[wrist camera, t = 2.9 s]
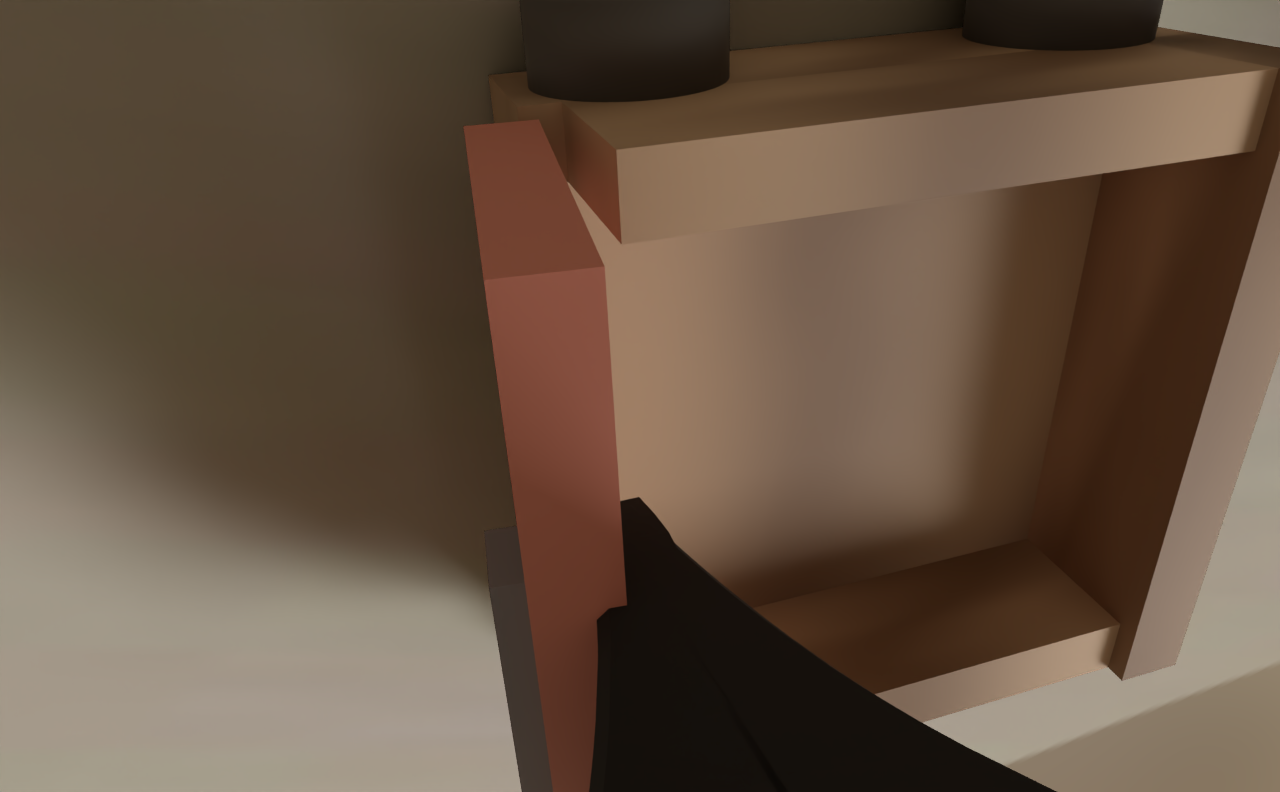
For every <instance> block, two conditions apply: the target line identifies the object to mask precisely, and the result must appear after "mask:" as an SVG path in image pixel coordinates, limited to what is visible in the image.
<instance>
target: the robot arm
mask: <svg viewBox="0 0 1280 792" xmlns="http://www.w3.org/2000/svg"><path fill="white" fill-rule="evenodd" d="M620 506H621V522H622V537H623V552H624V567H625V582H626V597H627V605H625V606H619V607H614V608H609V609H608V610H607V611H606V612H605V613H604V614H603V615H601V616H600V617H599V618H598V619H597V639H598V670H597V697H596V722H595V736H594V748H593V760H592V770H591V779H590V788H589V792H1056V791H1054V790H1052V789H1050V788H1048V787H1046V786H1044V785H1042V784H1040V783H1038V782H1036V781H1034V780H1032V779H1030V778H1028V777H1026V776H1024V775H1022V774H1020V773H1018V772H1016V771H1013V770H1012V769H1010V768H1008V767H1006V766H1004V765H1002V764H1000V763H998V762H995V761H993V760H991V759H989V758H987V757H985V756H983V755H981V754H979V753H977V752H975V751H973V750H971V749H969V748H967V747H965V746H964V745H962V744H960V743H958V742H956V741H954V740H952V739H951V738H949V737H947V736H945V735H943V734H941V733H940V732H938V731H936V730H934V729H932V728H930V727H929V726H927V725H925V724H923V723H922V722H920V721H918V720H917V719H915V718H913V717H912V716H910V715H908V714H907V713H905V712H903V711H902V710H900V709H898V708H896V707H895V706H893V705H891V704H890V703H888V702H886V701H885V700H883V699H881V698H880V697H878V696H877V695H875V694H873V693H872V692H870V691H869V690H867V689H866V688H864V687H862V686H861V685H859V684H858V683H856V682H855V681H853V680H852V679H850V678H849V677H847V676H846V675H844V674H843V673H841V672H840V671H838V670H837V669H835V668H834V667H832V666H831V665H829V664H828V663H826V662H825V661H824V660H822V659H821V658H819V657H818V656H816V655H815V654H814V653H812V652H811V651H809V650H808V649H807V648H805V647H804V646H802V645H801V644H799V643H798V642H797V641H795V640H794V639H792V638H791V637H790V636H788V635H787V634H786V633H784V632H783V631H782V630H780V629H779V628H778V627H776V626H775V625H774V624H772V623H771V622H770V621H768V620H767V619H766V618H764V617H763V616H762V615H761V614H759V613H758V612H757V611H756V610H754V609H753V608H752V607H751V606H749V605H748V604H747V603H746V602H744V601H743V600H742V599H741V598H739V597H738V596H737V595H735V594H734V593H733V592H732V591H730V590H729V589H728V588H727V587H725V586H724V585H723V584H722V583H721V582H719V581H718V580H717V579H716V578H715V577H713V576H712V575H711V574H710V573H709V572H707V571H706V570H705V569H704V568H703V567H702V566H700V565H699V564H698V563H697V562H696V561H695V560H694V559H692V558H691V557H690V556H689V555H688V554H687V553H685V552H684V551H683V550H682V549H681V548H680V547H679V546H678V545H676V544H675V543H674V541H673V539H672V537H671V535H670V533H669V532H668V530H667V529H666V528H665V526H664V525H663V524H662V523H661V521H660V520H659V519H658V517H657V516H656V515H655V514H654V512H653V511H652V510H651V509H650V508H649V507H648V506H647V505H646V504H645V503H644V502H643V500H642V499H641V498H640V497H636V498H632V499H627V500H622V501H620Z"/></svg>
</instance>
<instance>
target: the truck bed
mask: <svg viewBox="0 0 1280 792" xmlns="http://www.w3.org/2000/svg"><path fill="white" fill-rule="evenodd" d="M1162 5H1163V0H966V5H965V14H964V22H963V28H954V29H944V30H934V31H924V32H914V33H904V34H894V35H884V36H874V37H864V38H854V39H844V40H834V41H824V42H814V43H804V44H794V45H784V46H774V47H764V48H754V49H744V50H734V51H730V0H520V10H521V20H522V30H523V40H524V50H525V60H526V70H527V71H524V72H514V73H504V74H494V75H488V77H489V85H490V93H491V102H492V110H493V119H494V123H504V122H515V121H527V120H538V119H539V121H540V123H541V126H542V128H543V130H544V132H545V135H546V137H547V139H548V141H549V144H550V146H551V148H552V150H553V152H554V155H555V157H556V159H557V161H558V164H559V166H560V168H561V170H562V172H563V175H564V177H565V179H566V181H567V184H568V186H569V188H570V190H571V193H572V195H573V197H574V199H575V201H576V204H577V206H578V208H579V210H580V213H581V215H582V217H583V219H584V222H585V224H586V226H587V228H588V230H589V233H590V235H591V237H592V239H593V242H594V244H595V246H596V248H597V251H598V253H599V255H600V257H601V259H602V262H603V264H604V266H605V279H606V294H607V310H608V325H609V340H610V355H611V370H612V385H613V400H614V416H615V431H616V446H617V461H618V476H619V491H620V501H622V500H627V499H632V498H636V497H640V498H641V499H642V500H643V502H644V503H645V504H646V505H647V506H648V507H649V508H650V509H651V510H652V511H653V512H654V514H655V515H656V516H657V517H658V519H659V520H660V521H661V523H662V524H663V525H664V526H665V528H666V529H667V530H668V532H669V533H670V535H671V537H672V539H673V541H674V543H675V544H676V545H678V546H679V547H680V548H681V549H682V550H683V551H684V552H685V553H687V554H688V555H689V556H690V557H691V558H692V559H694V560H695V561H696V562H697V563H698V564H699V565H700V566H702V567H703V568H704V569H705V570H706V571H707V572H709V573H710V574H711V575H712V576H713V577H715V578H716V579H717V580H718V581H719V582H721V583H722V584H723V585H724V586H725V587H727V588H728V589H729V590H730V591H732V592H733V593H734V594H735V595H737V596H738V597H739V598H741V599H742V600H743V601H744V602H746V603H747V604H748V605H749V606H751V607H752V608H753V609H754V610H756V611H757V612H758V613H759V614H761V615H762V616H763V617H764V618H766V619H767V620H768V621H770V622H771V623H772V624H774V625H775V626H776V627H778V628H779V629H780V630H782V631H783V632H784V633H786V634H787V635H788V636H790V637H791V638H792V639H794V640H795V641H797V642H798V643H799V644H801V645H802V646H804V647H805V648H807V649H808V650H809V651H811V652H812V653H814V654H815V655H816V656H818V657H819V658H821V659H822V660H824V661H825V662H826V663H828V664H829V665H831V666H832V667H834V668H835V669H837V670H838V671H840V672H841V673H843V674H844V675H846V676H847V677H849V678H850V679H852V680H853V681H855V682H856V683H858V684H859V685H861V686H862V687H864V688H866V689H867V690H869V691H870V692H872V693H873V694H875V695H877V696H878V697H880V698H881V699H883V700H885V701H886V702H888V703H890V704H891V705H893V706H895V707H896V708H898V709H900V710H902V711H903V712H905V713H907V714H908V715H910V716H912V717H913V718H915V719H917V720H918V721H920V722H925V721H928V720H932V719H935V718H938V717H942V716H945V715H948V714H952V713H955V712H959V711H962V710H965V709H969V708H972V707H975V706H979V705H982V704H985V703H989V702H992V701H996V700H999V699H1002V698H1006V697H1009V696H1012V695H1016V694H1019V693H1022V692H1026V691H1029V690H1032V689H1036V688H1039V687H1043V686H1046V685H1049V684H1053V683H1056V682H1059V681H1063V680H1066V679H1069V678H1073V677H1076V676H1079V675H1083V674H1086V673H1090V672H1093V671H1096V670H1100V669H1103V668H1106V667H1109V668H1110V669H1111V670H1112V671H1113V672H1114V673H1115V674H1116V675H1117V676H1118V677H1119V678H1120V679H1121V680H1122V681H1123V680H1126V679H1129V678H1133V677H1136V676H1139V675H1143V674H1146V673H1149V672H1153V671H1156V670H1159V669H1162V668H1166V667H1169V666H1172V665H1175V664H1176V661H1177V658H1178V655H1179V652H1180V649H1181V646H1182V643H1183V640H1184V637H1185V634H1186V631H1187V628H1188V625H1189V622H1190V619H1191V616H1192V613H1193V610H1194V607H1195V604H1196V601H1197V598H1198V595H1199V592H1200V589H1201V586H1202V583H1203V580H1204V577H1205V574H1206V571H1207V568H1208V565H1209V562H1210V559H1211V556H1212V553H1213V550H1214V547H1215V544H1216V541H1217V538H1218V535H1219V532H1220V529H1221V526H1222V523H1223V520H1224V517H1225V514H1226V511H1227V508H1228V505H1229V502H1230V499H1231V496H1232V493H1233V490H1234V487H1235V484H1236V481H1237V478H1238V475H1239V472H1240V469H1241V466H1242V463H1243V460H1244V457H1245V454H1246V451H1247V448H1248V445H1249V442H1250V439H1251V436H1252V433H1253V430H1254V427H1255V424H1256V421H1257V418H1258V415H1259V412H1260V409H1261V406H1262V403H1263V400H1264V397H1265V394H1266V391H1267V388H1268V385H1269V382H1270V379H1271V376H1272V373H1273V370H1274V367H1275V364H1276V361H1277V358H1278V355H1279V352H1280V48H1279V47H1273V46H1267V45H1261V44H1255V43H1249V42H1243V41H1238V40H1232V39H1226V38H1220V37H1214V36H1208V35H1202V34H1196V33H1190V32H1184V31H1178V30H1172V29H1166V28H1161V27H1158V23H1159V18H1160V14H1161V9H1162Z"/></svg>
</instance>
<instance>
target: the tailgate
mask: <svg viewBox="0 0 1280 792" xmlns="http://www.w3.org/2000/svg"><path fill="white" fill-rule="evenodd" d="M463 127H464V134H465V142H466V150H467V157H468V165H469V172H470V180H471V188H472V195H473V203H474V210H475V218H476V226H477V233H478V241H479V248H480V256H481V264H482V271H483V279H484V286H485V294H486V301H487V308H488V316H489V323H490V330H491V338H492V345H493V353H494V360H495V367H496V375H497V382H498V389H499V397H500V404H501V411H502V419H503V426H504V434H505V441H506V448H507V456H508V463H509V470H510V478H511V485H512V492H513V500H514V507H515V515H516V522H517V526H512V527H506V528H499V529H493V530H486V531H484V532H485V545H486V557H487V569H488V581H489V591H490V597H491V603H492V609H493V616H494V622H495V628H496V634H497V640H498V647H499V653H500V659H501V665H502V672H503V678H504V684H505V690H506V696H507V703H508V709H509V715H510V721H511V727H512V734H513V740H514V746H515V752H516V758H517V765H518V771H519V777H520V783H521V789H522V792H589V788H590V779H591V770H592V760H593V748H594V736H595V722H596V697H597V670H598V639H597V619H598V618H599V617H600V616H601V615H603V614H604V613H605V612H606V611H607V610H608V609H609V608H614V607H619V606H625V605H627V597H626V582H625V567H624V552H623V537H622V522H621V506H620V491H619V476H618V461H617V446H616V431H615V416H614V400H613V385H612V370H611V355H610V340H609V325H608V310H607V294H606V279H605V266H604V264H603V262H602V259H601V257H600V255H599V253H598V251H597V248H596V246H595V244H594V242H593V239H592V237H591V235H590V233H589V230H588V228H587V226H586V224H585V222H584V219H583V217H582V215H581V213H580V210H579V208H578V206H577V204H576V201H575V199H574V197H573V195H572V193H571V190H570V188H569V186H568V184H567V181H566V179H565V177H564V175H563V172H562V170H561V168H560V166H559V164H558V161H557V159H556V157H555V155H554V152H553V150H552V148H551V146H550V144H549V141H548V139H547V137H546V135H545V132H544V130H543V128H542V126H541V123H540V121H539V119H538V120H527V121H515V122H504V123H493V124H482V125H470V126H463Z"/></svg>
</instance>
